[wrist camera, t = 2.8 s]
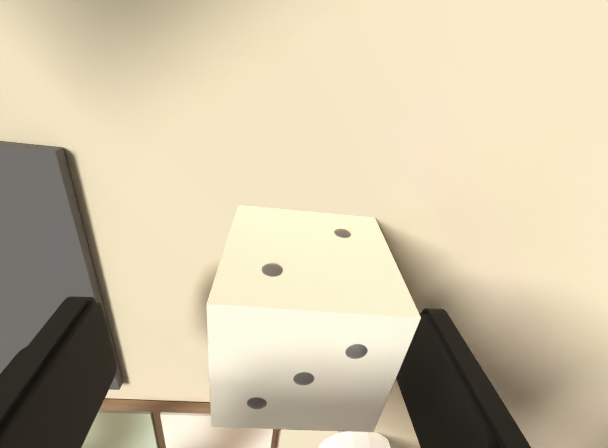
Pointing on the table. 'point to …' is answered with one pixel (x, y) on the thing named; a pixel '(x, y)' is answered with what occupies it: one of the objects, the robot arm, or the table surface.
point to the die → (305, 322)
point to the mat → (39, 245)
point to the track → (168, 427)
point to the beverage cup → (355, 440)
